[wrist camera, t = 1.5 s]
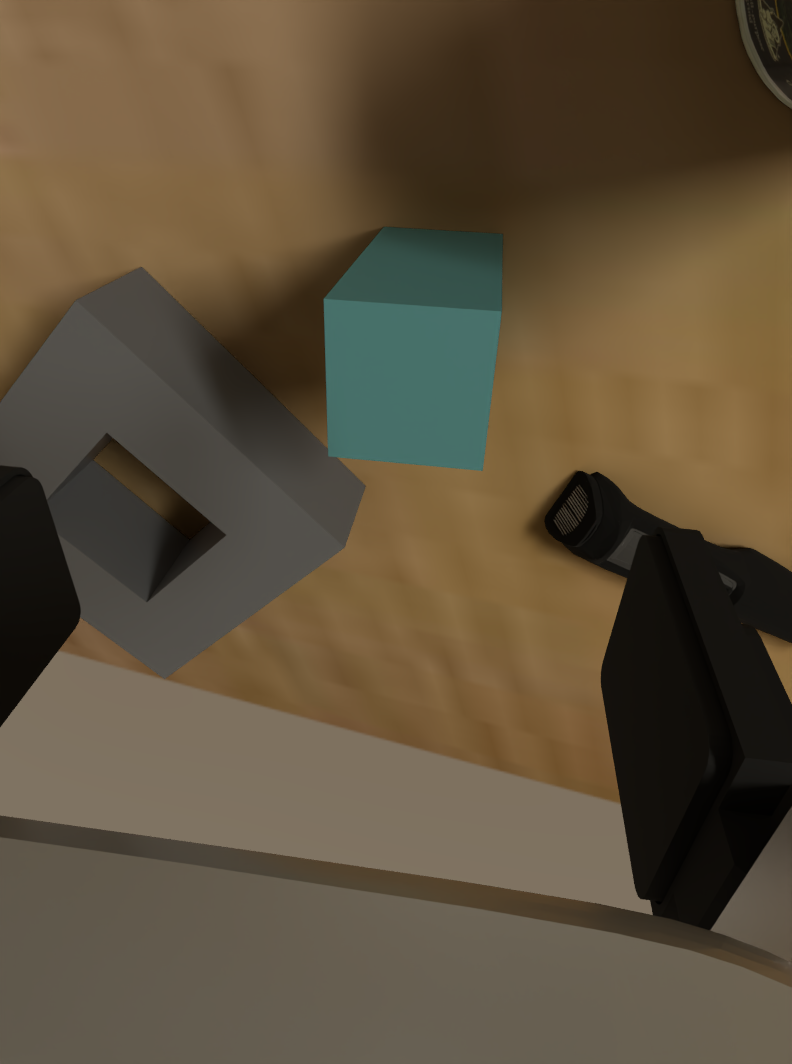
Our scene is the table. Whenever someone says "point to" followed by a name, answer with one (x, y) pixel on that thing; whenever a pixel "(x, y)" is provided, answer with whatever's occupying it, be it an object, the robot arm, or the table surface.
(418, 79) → the table surface
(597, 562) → the electric trimmer
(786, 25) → the coffee can
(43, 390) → the socket
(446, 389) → the peg
